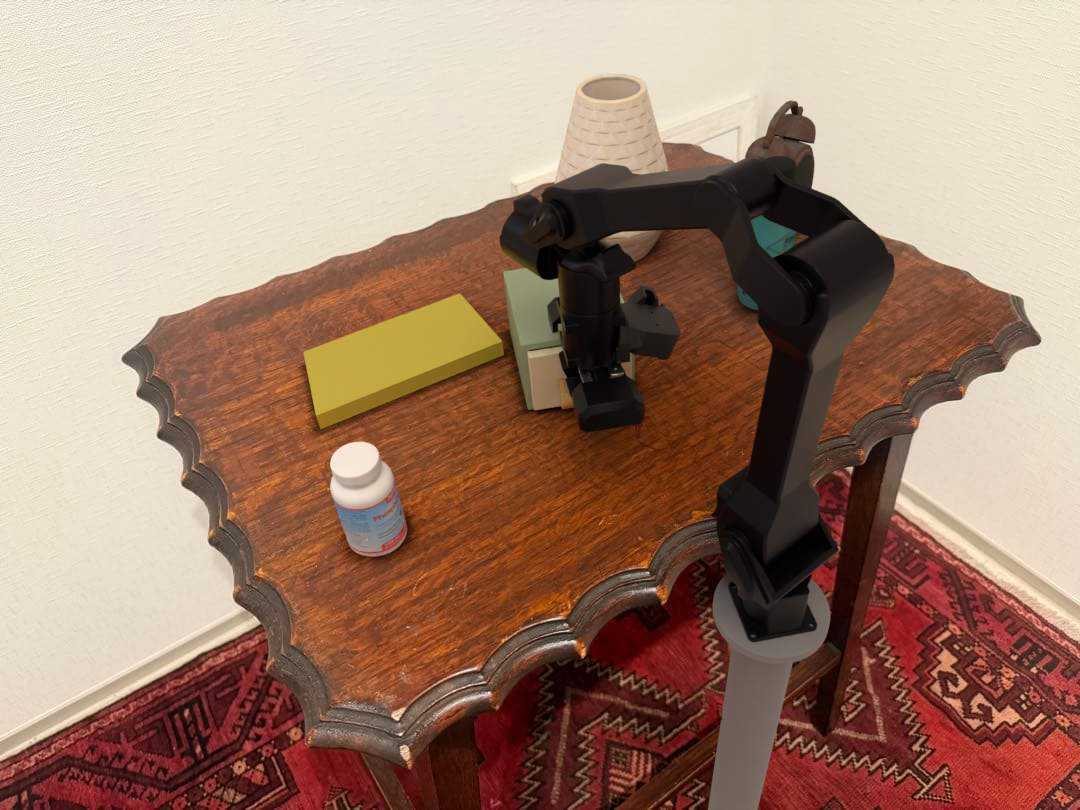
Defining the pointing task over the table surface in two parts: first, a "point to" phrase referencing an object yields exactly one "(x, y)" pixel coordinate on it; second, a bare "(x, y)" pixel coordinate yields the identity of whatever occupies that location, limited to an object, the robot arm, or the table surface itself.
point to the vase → (614, 140)
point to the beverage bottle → (772, 226)
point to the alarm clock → (789, 141)
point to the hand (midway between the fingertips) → (595, 418)
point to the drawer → (553, 378)
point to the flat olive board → (397, 358)
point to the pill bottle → (367, 500)
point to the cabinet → (532, 319)
